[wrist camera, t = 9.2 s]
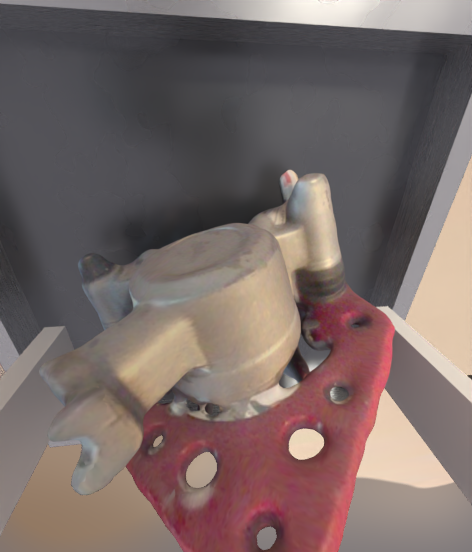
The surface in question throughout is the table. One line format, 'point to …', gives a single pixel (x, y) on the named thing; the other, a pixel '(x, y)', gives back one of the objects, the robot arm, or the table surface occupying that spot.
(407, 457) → the table surface
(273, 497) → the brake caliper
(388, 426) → the table surface
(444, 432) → the robot arm
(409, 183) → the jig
